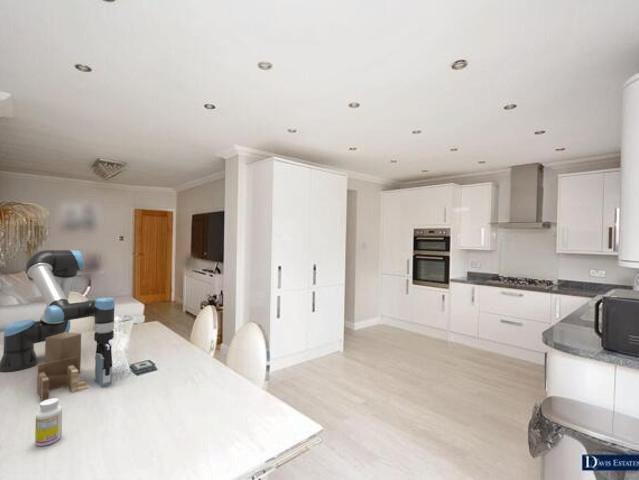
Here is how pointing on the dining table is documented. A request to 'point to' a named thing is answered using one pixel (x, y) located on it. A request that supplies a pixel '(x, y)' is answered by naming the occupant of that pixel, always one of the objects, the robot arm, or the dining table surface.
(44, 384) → the shelf corner
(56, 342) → the wooden block
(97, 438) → the dining table surface
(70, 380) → the bookend
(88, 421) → the dining table surface
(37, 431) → the supplement bottle
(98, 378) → the book box
